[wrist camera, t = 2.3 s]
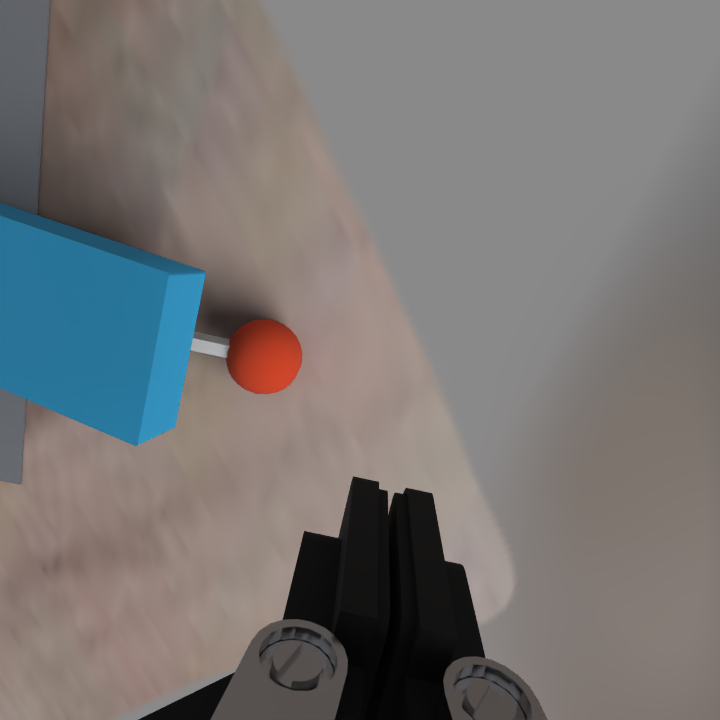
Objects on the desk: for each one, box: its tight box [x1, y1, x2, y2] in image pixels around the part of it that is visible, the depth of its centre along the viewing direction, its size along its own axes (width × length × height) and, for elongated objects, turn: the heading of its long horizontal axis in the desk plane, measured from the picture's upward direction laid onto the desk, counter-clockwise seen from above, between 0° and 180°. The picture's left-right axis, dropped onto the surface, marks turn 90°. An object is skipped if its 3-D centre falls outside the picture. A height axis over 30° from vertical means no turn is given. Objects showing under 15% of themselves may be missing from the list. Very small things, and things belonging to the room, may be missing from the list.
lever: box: [0, 203, 302, 446], centre depth 25 cm, size 7×7×18 cm
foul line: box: [0, 0, 50, 484], centre depth 26 cm, size 23×2×1 cm, turn 168°
